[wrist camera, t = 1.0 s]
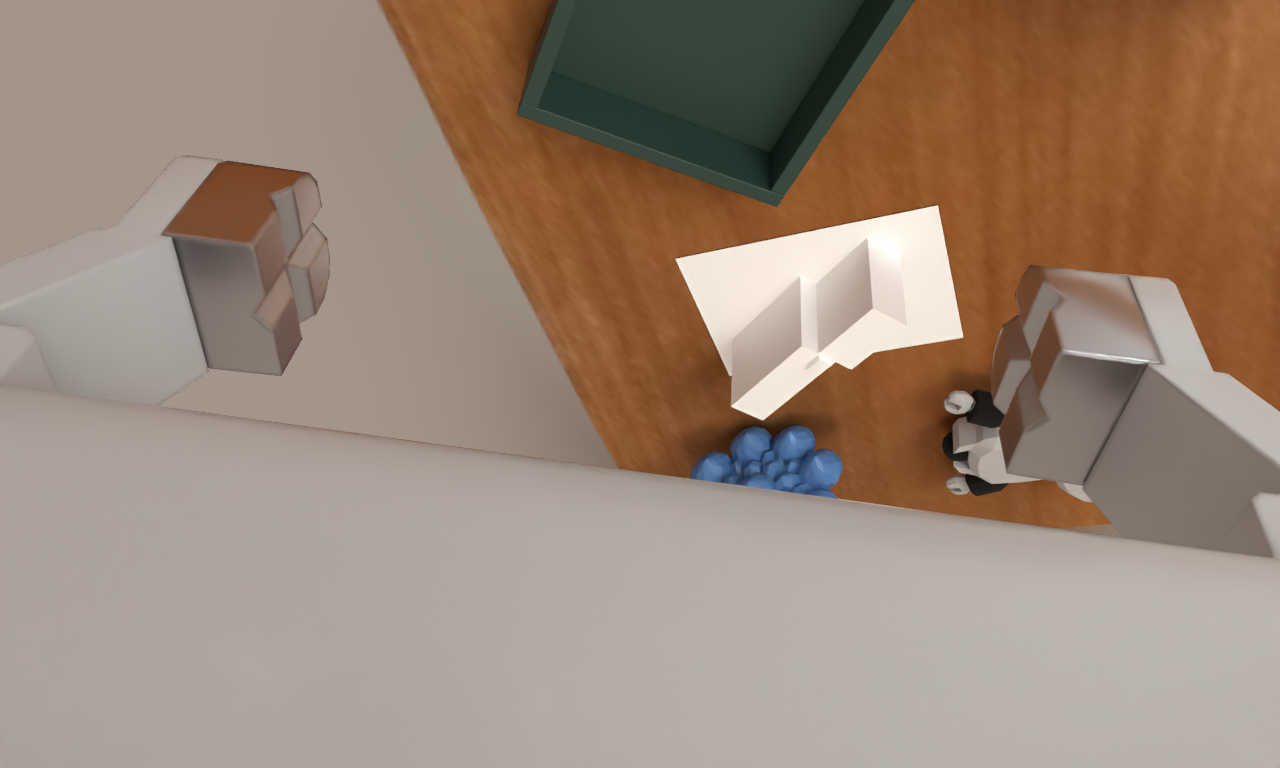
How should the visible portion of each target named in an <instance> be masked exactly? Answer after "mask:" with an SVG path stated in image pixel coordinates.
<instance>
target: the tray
mask: <svg viewBox="0 0 1280 768" xmlns="http://www.w3.org/2000/svg"><path fill="white" fill-rule="evenodd" d="M914 1H915V0H552V2H551V5H550V8H549V11H548V14H547V16H546V19H545V22H544V25H543V28H542V30H541V33H540V36H539V39H538V42H537V44H536V47H535V50H534V53H533V56H532V59H531V61H530V64H529V67H528V70H527V74H526V78H525V83H524V87H523V91H522V95H521V99H520V103H519V108H518V112H517V115H519V116H521V117H524V118H527V119H530V120H533V121H536V122H538V123H541V124H544V125H547V126H550V127H552V128H555V129H558V130H561V131H564V132H567V133H569V134H572V135H575V136H578V137H581V138H583V139H586V140H589V141H592V142H595V143H598V144H600V145H603V146H606V147H609V148H612V149H615V150H617V151H620V152H623V153H626V154H629V155H631V156H634V157H637V158H640V159H643V160H646V161H648V162H651V163H654V164H657V165H660V166H663V167H665V168H668V169H671V170H674V171H677V172H679V173H682V174H685V175H688V176H691V177H694V178H696V179H699V180H702V181H705V182H708V183H710V184H713V185H716V186H719V187H722V188H725V189H727V190H730V191H733V192H736V193H739V194H742V195H744V196H747V197H750V198H753V199H756V200H758V201H761V202H764V203H767V204H770V205H773V206H775V207H777V206H778V205H779V203H780V202H781V200H782V199H783V197H784V195H785V194H786V193H787V191H788V190H789V188H790V187H791V185H792V184H793V182H794V181H795V179H796V178H797V176H798V175H799V173H800V172H801V170H802V169H803V167H804V166H805V164H806V163H807V161H808V160H809V158H810V157H811V155H812V154H813V152H814V151H815V149H816V148H817V146H818V145H819V143H820V142H821V140H822V139H823V137H824V136H825V134H826V133H827V131H828V130H829V128H830V127H831V125H832V124H833V122H834V121H835V119H836V118H837V116H838V115H839V113H840V112H841V110H842V109H843V107H844V106H845V104H846V103H847V101H848V100H849V98H850V97H851V95H852V94H853V92H854V91H855V89H856V88H857V86H858V85H859V83H860V82H861V80H862V79H863V77H864V76H865V74H866V73H867V71H868V70H869V68H870V67H871V65H872V64H873V62H874V61H875V59H876V58H877V56H878V55H879V53H880V52H881V50H882V49H883V47H884V46H885V44H886V43H887V41H888V40H889V38H890V37H891V36H892V34H893V33H894V31H895V30H896V28H897V27H898V25H899V24H900V22H901V21H902V19H903V18H904V16H905V15H906V13H907V12H908V10H909V9H910V7H911V6H912V4H913V3H914Z"/></svg>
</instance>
